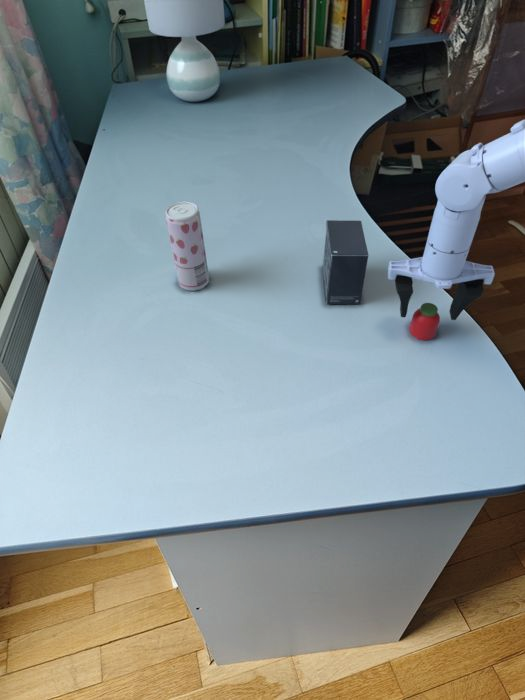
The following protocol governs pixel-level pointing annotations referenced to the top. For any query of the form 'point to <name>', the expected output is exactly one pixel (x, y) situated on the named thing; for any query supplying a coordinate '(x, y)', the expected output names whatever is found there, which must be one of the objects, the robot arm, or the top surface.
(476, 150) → the robot arm
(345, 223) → the small box
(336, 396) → the top surface
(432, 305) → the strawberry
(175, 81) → the lamp
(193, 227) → the beverage can
